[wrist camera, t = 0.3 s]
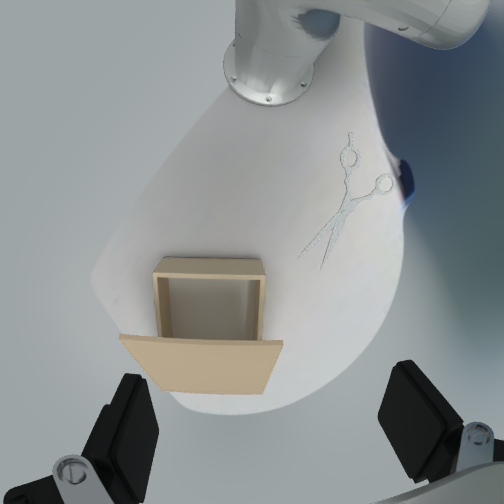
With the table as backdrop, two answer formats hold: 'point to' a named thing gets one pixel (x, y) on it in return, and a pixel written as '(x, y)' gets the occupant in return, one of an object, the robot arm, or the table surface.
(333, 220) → the scissors
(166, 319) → the box
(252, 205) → the table surface
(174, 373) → the lid
